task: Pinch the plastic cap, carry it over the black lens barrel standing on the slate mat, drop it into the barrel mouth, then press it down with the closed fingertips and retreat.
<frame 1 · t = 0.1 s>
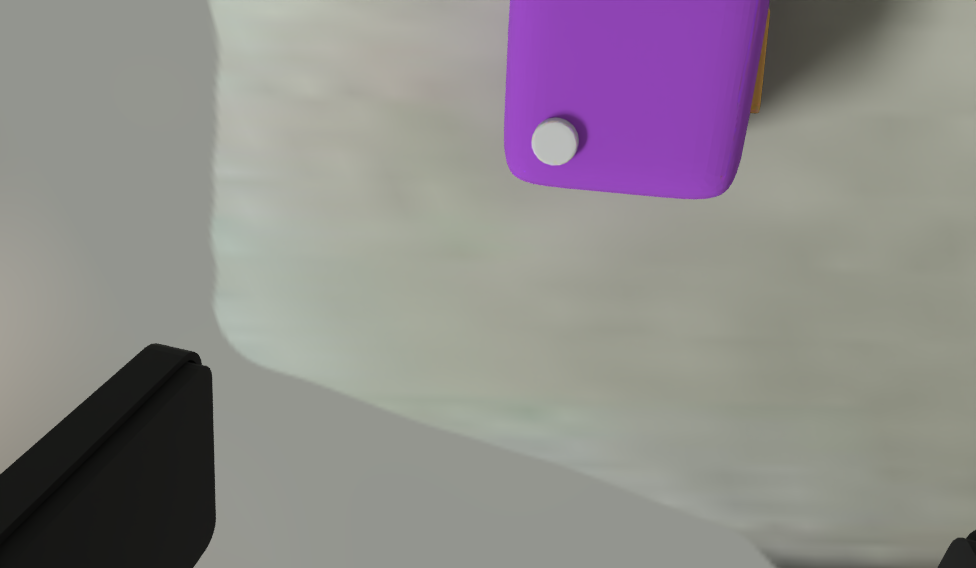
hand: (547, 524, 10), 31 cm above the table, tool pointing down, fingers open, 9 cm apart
toy camera: (632, 6, 37), on the table
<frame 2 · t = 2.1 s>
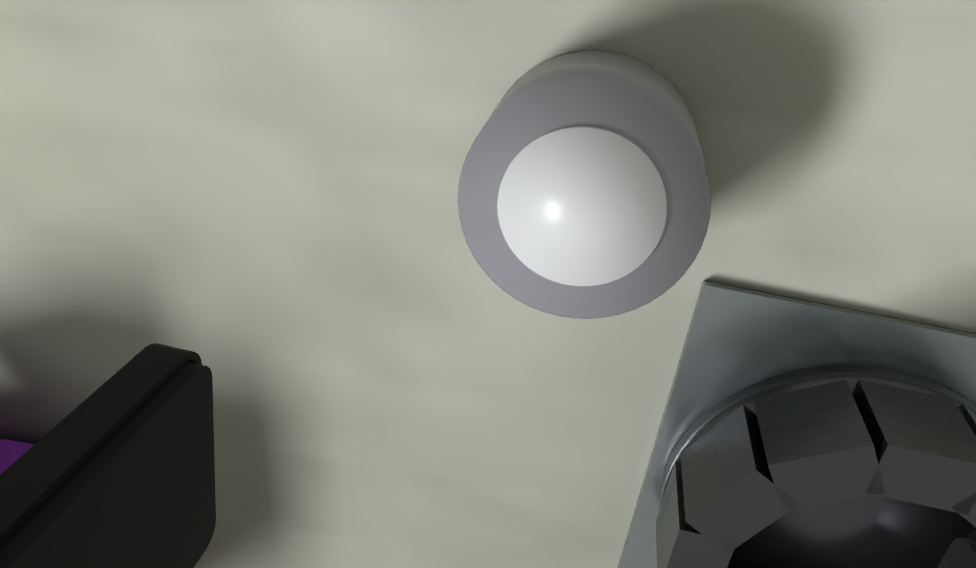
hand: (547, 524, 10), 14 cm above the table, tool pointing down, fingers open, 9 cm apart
lens barrel: (830, 502, 26), on the table
lens cap: (589, 158, 22), on the table
toy camera: (29, 481, 33), on the table
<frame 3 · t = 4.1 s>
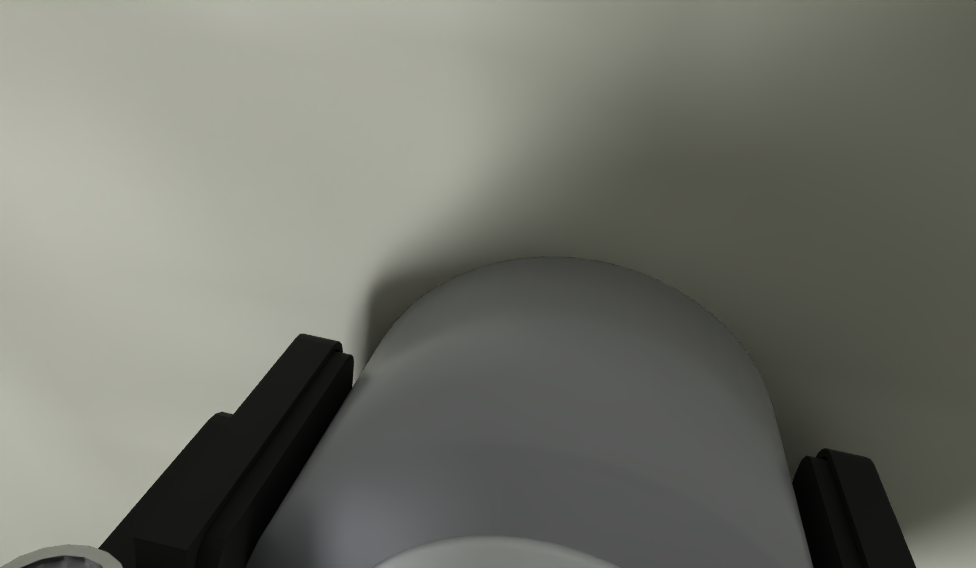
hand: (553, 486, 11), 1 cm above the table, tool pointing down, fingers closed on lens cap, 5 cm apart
lens cap: (559, 446, 11), on the table, touching gripper
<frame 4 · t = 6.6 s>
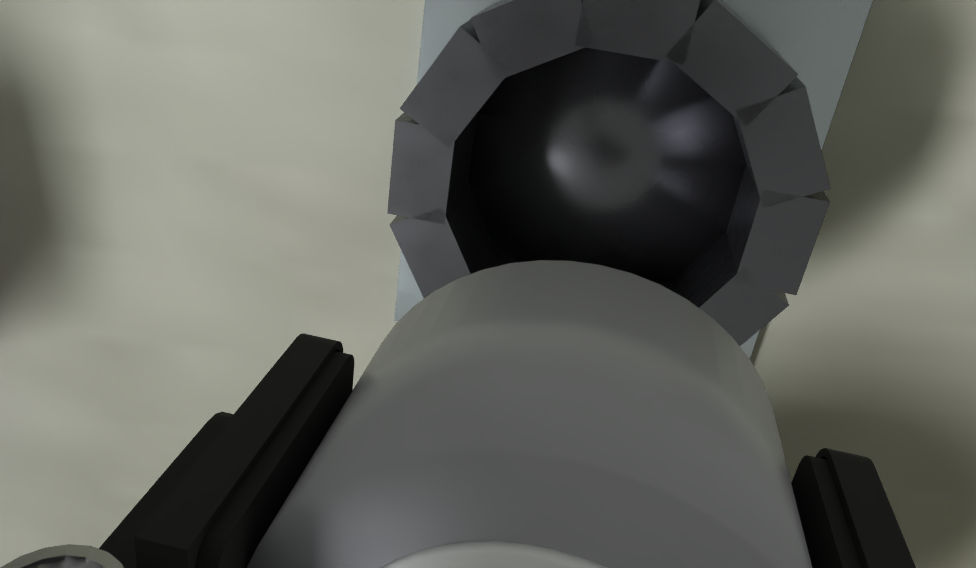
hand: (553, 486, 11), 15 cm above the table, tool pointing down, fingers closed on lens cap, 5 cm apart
lens barrel: (604, 160, 24), on the table
lens cap: (559, 449, 11), point 14 cm above the table, touching gripper
when the fingers open (5 cm above the table, at t = 9.3 s): lens cap drops 3 cm, resting on lens barrel.
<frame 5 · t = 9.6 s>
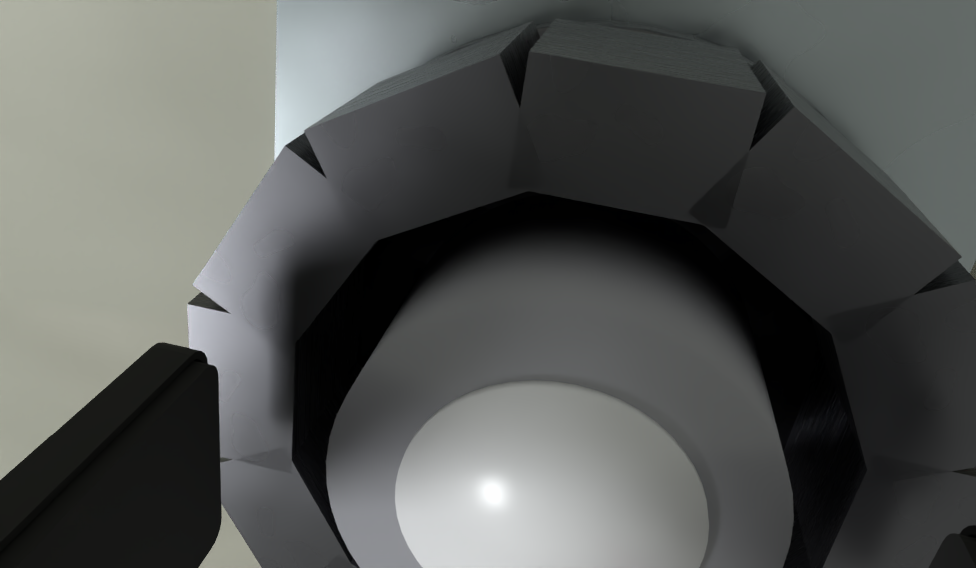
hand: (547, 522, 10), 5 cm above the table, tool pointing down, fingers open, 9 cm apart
lens barrel: (580, 321, 15), on the table
lens cap: (572, 356, 14), point 1 cm above the table, touching lens barrel
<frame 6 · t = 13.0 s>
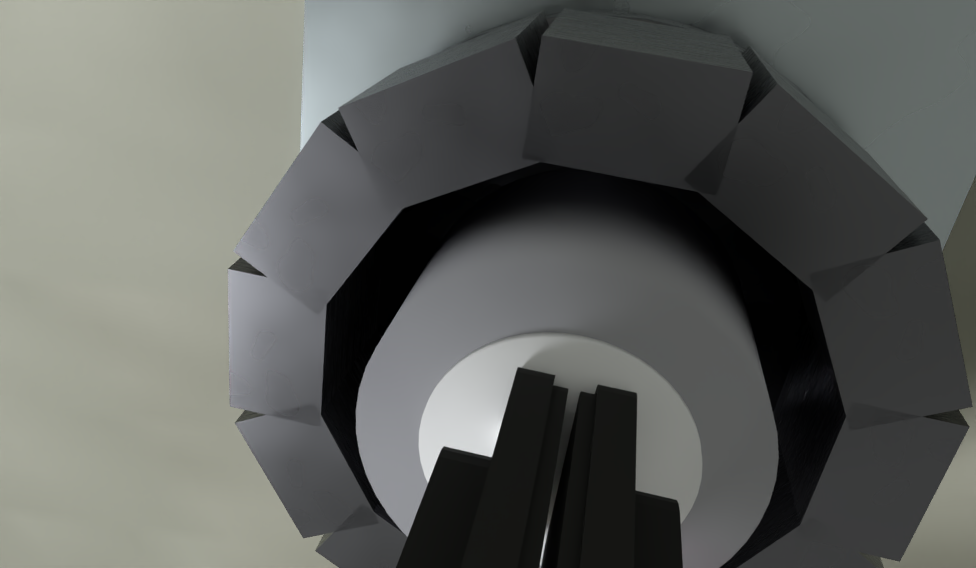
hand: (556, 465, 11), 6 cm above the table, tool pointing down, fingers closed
lens barrel: (584, 293, 16), on the table
lens cap: (578, 323, 15), point 1 cm above the table, touching lens barrel
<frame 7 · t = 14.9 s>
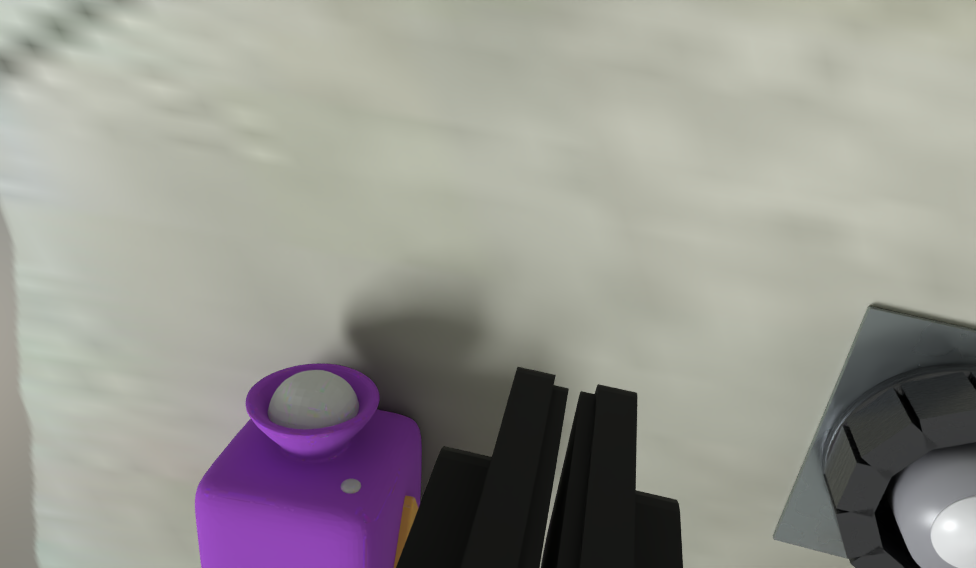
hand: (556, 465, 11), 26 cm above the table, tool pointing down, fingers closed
lens barrel: (941, 459, 38), on the table
lens cap: (949, 475, 37), point 1 cm above the table, touching lens barrel
toy camera: (347, 437, 45), on the table
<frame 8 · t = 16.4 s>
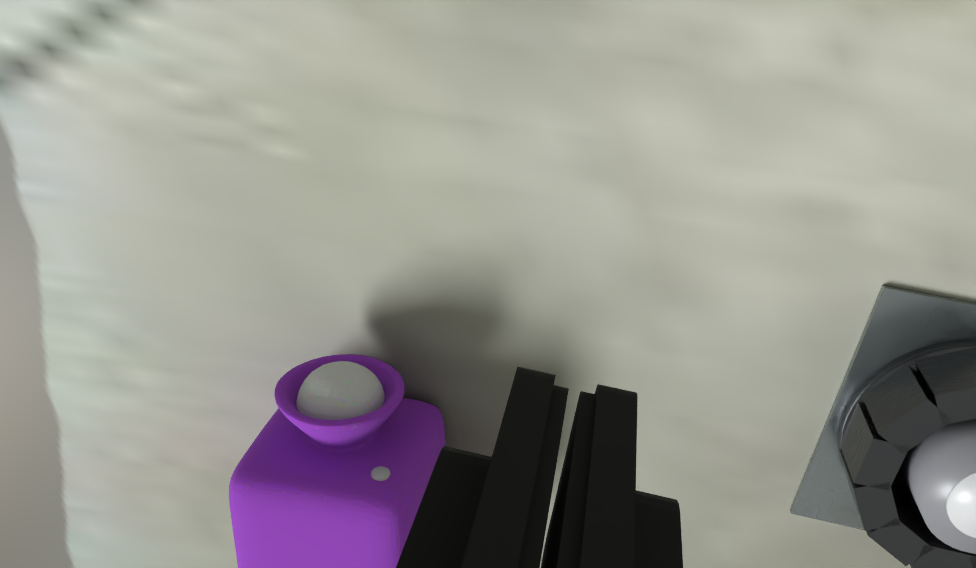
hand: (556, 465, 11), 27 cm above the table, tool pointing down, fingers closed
lens barrel: (954, 432, 39), on the table
lens cap: (963, 447, 38), point 1 cm above the table, touching lens barrel
toy camera: (371, 424, 46), on the table
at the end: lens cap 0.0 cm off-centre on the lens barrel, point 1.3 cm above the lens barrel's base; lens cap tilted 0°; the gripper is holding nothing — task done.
